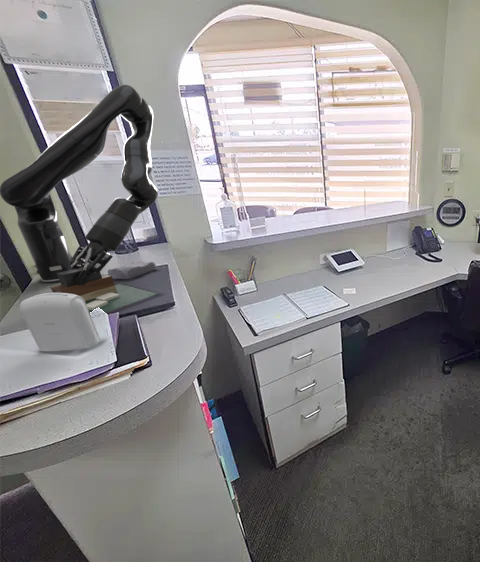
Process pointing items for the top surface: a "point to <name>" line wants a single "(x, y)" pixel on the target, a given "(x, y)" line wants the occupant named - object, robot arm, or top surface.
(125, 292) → the chalkboard
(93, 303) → the chalk smudge
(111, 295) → the chalk smudge
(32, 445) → the top surface
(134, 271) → the stone block
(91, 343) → the photo printer
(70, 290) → the eraser
